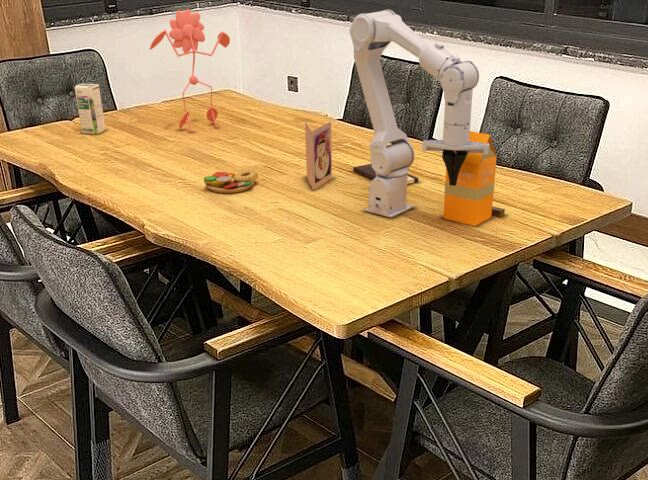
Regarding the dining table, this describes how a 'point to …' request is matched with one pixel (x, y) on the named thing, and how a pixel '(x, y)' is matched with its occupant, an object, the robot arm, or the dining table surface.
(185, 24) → the figurine
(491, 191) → the orange juice
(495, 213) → the walnut batten
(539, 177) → the dining table surface
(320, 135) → the greeting card
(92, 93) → the syrup box
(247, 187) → the toy food set
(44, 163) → the dining table surface
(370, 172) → the chocolate bar
